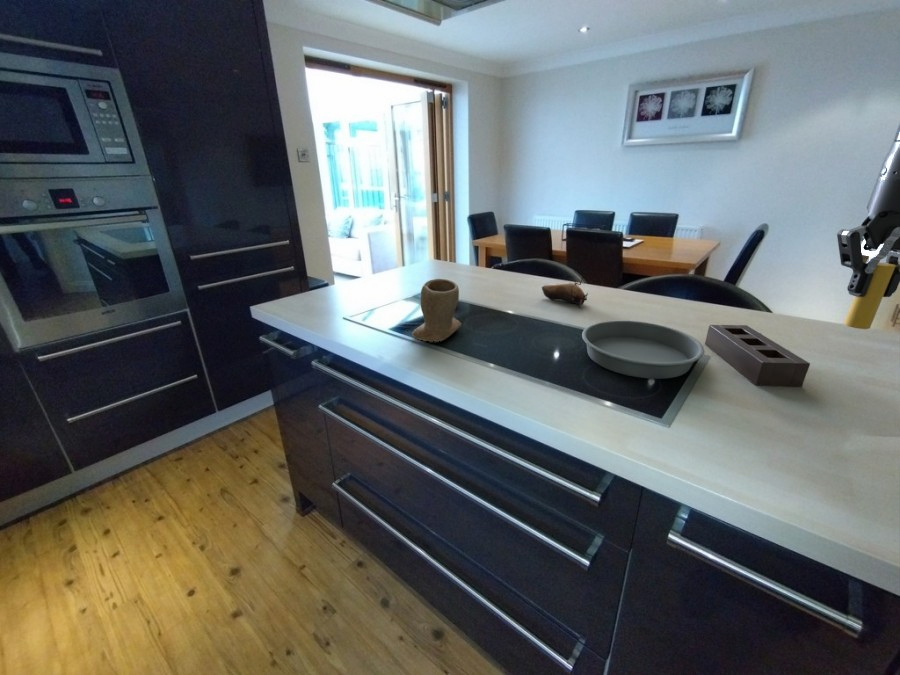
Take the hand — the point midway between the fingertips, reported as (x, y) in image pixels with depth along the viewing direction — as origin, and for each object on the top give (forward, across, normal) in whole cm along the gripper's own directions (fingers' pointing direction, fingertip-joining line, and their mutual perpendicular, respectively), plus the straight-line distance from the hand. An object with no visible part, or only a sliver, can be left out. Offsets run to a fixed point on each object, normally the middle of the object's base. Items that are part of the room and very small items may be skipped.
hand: (869, 295), depth 61 cm
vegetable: (+20, -37, +60) cm, 73 cm away
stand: (+20, -4, +17) cm, 26 cm away
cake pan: (+20, -26, +18) cm, 38 cm away
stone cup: (+20, -72, +30) cm, 81 cm away
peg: (+5, 0, 0) cm, 5 cm away
